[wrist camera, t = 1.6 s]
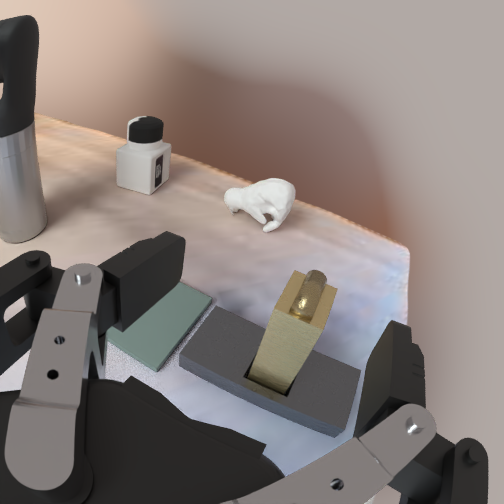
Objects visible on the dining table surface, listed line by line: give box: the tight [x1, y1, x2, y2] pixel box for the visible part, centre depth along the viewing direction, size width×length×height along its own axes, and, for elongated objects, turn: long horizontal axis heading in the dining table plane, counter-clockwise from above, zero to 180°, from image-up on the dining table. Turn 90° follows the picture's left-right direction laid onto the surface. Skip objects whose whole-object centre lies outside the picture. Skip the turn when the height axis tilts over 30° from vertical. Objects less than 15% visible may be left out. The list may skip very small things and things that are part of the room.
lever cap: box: [247, 270, 337, 395], centre depth 29 cm, size 4×5×14 cm
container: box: [116, 116, 171, 195], centre depth 55 cm, size 8×8×13 cm
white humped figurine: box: [224, 178, 296, 232], centre depth 54 cm, size 6×8×12 cm
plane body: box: [179, 306, 361, 438], centre depth 32 cm, size 18×8×2 cm, turn 66°
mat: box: [107, 282, 212, 372], centre depth 36 cm, size 12×12×1 cm
